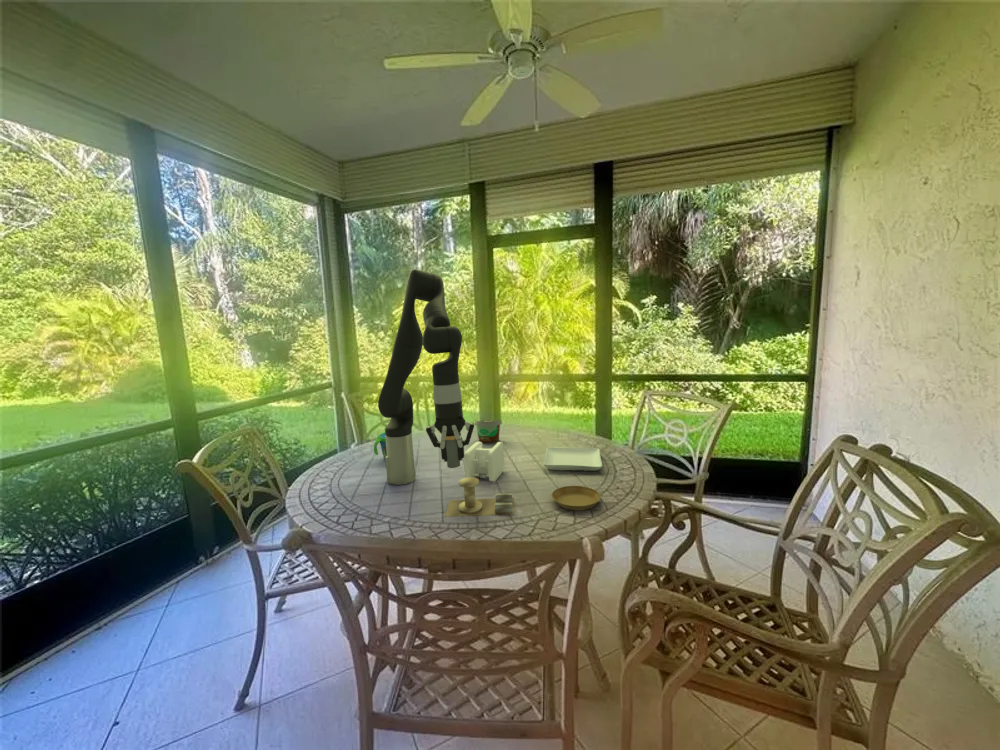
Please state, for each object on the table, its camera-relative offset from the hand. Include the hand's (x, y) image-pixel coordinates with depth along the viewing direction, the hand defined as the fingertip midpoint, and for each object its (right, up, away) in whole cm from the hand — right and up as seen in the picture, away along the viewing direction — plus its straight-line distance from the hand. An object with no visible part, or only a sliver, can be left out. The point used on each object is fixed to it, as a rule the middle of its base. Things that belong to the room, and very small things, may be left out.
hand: (453, 459), depth 122 cm
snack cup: (-32, -11, +61) cm, 69 cm away
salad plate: (+41, -11, +45) cm, 62 cm away
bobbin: (+4, -16, +8) cm, 18 cm away
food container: (+7, -7, +76) cm, 77 cm away
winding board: (+7, -17, +9) cm, 20 cm away
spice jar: (0, -2, 0) cm, 2 cm away
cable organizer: (+8, -13, +35) cm, 38 cm away
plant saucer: (+36, -16, +12) cm, 41 cm away
